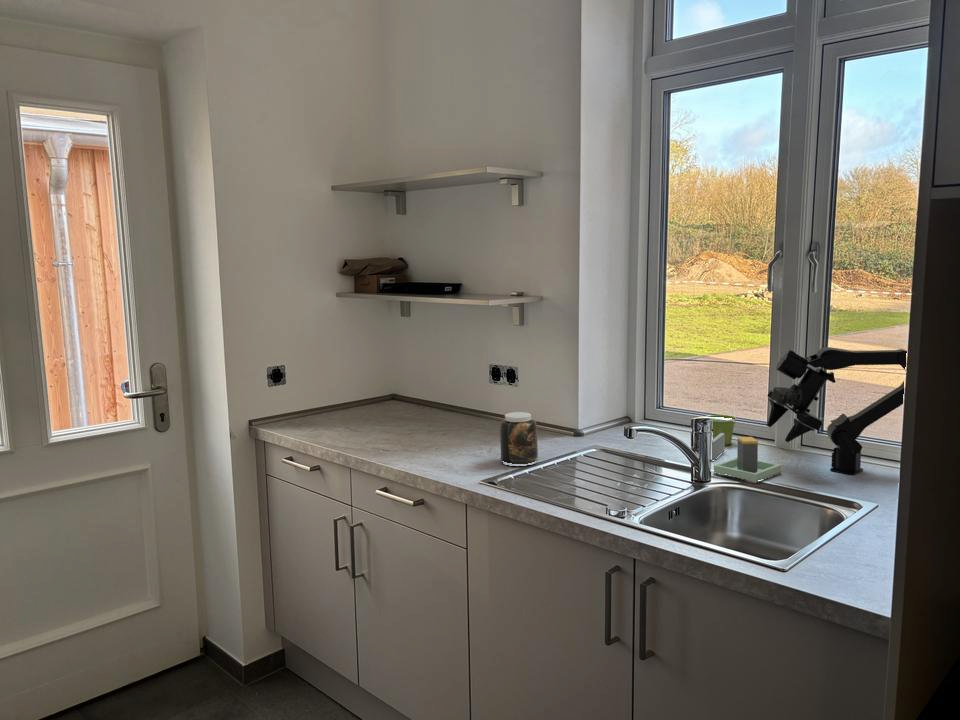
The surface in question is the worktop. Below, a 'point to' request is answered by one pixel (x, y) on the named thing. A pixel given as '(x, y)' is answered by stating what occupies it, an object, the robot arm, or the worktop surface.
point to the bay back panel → (718, 445)
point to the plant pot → (723, 427)
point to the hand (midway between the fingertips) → (777, 433)
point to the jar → (518, 438)
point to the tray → (762, 472)
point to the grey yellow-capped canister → (747, 454)
